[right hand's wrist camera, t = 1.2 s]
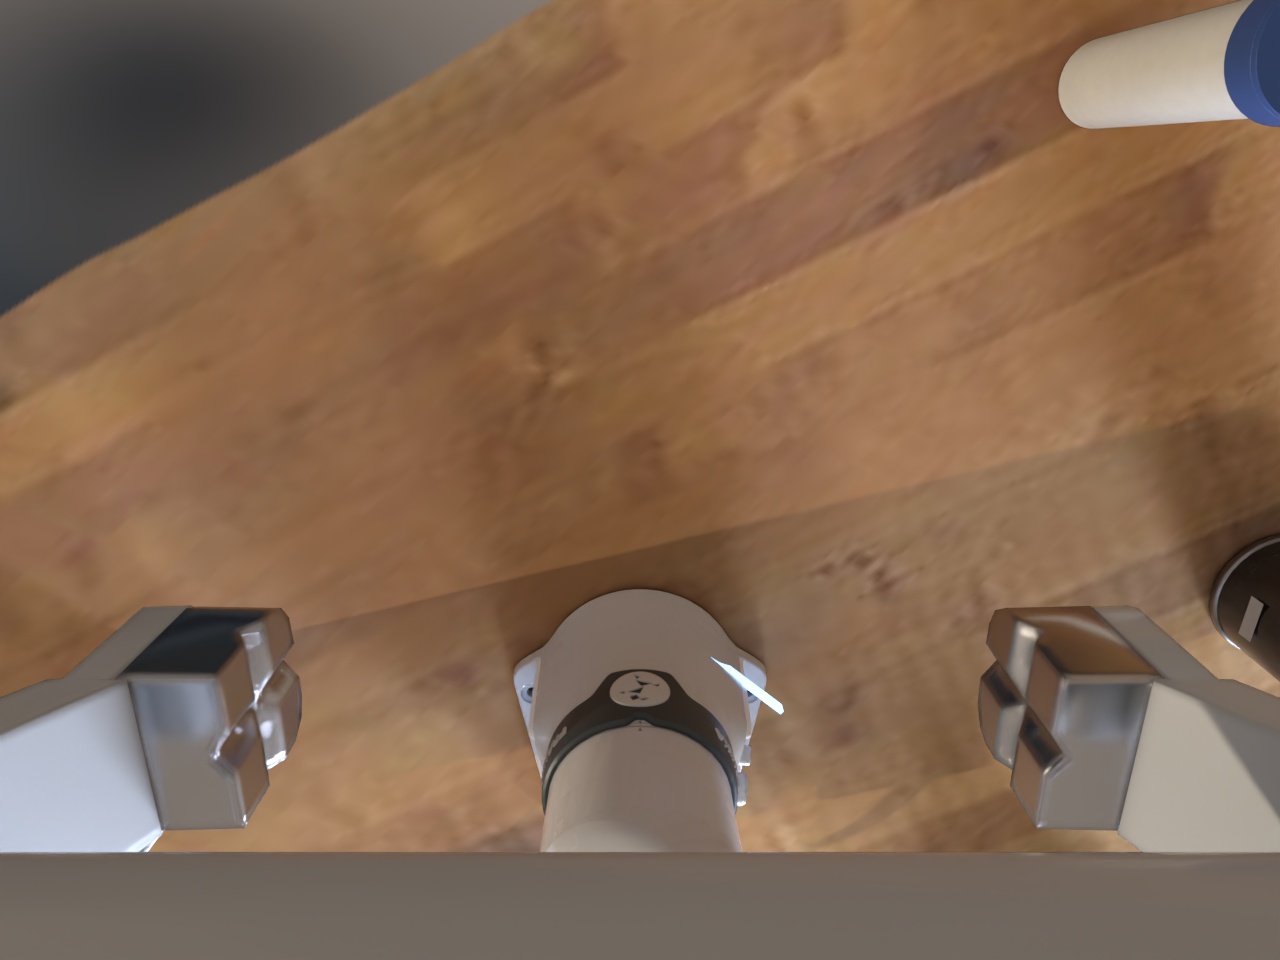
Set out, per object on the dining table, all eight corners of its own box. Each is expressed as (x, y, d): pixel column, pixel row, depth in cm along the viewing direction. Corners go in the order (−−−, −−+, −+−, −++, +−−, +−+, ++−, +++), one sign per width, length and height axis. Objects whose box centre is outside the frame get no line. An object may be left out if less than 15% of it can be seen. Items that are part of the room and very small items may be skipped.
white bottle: (1159, 56, 51) (1415, 6, 35) (1114, 141, 53) (1337, 133, 36) (1085, 23, 51) (1308, -46, 34) (1042, 110, 52) (1234, 86, 36)
